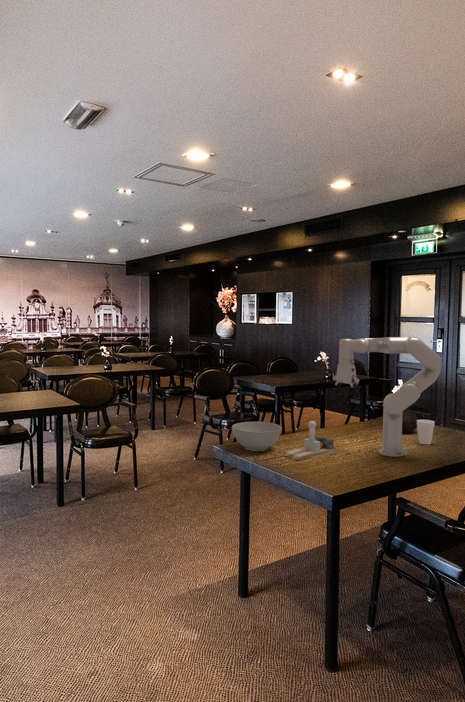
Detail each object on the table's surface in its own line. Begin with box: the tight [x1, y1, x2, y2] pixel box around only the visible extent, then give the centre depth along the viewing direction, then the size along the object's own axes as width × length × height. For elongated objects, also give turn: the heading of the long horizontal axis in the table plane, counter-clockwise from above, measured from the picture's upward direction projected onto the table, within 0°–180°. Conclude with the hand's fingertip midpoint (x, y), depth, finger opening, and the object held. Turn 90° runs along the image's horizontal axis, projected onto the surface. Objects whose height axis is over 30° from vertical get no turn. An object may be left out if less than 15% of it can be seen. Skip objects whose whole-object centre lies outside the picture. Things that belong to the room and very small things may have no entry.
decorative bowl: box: [231, 421, 283, 452], centre depth 266 cm, size 27×27×12 cm
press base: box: [282, 435, 337, 462], centre depth 256 cm, size 12×26×7 cm, turn 127°
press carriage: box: [303, 420, 320, 452], centre depth 257 cm, size 9×4×15 cm, turn 37°
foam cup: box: [416, 419, 436, 445], centre depth 280 cm, size 10×9×13 cm
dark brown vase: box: [399, 386, 419, 434], centre depth 311 cm, size 18×18×28 cm
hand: (345, 393), depth 265 cm, fingers open, 9 cm apart
